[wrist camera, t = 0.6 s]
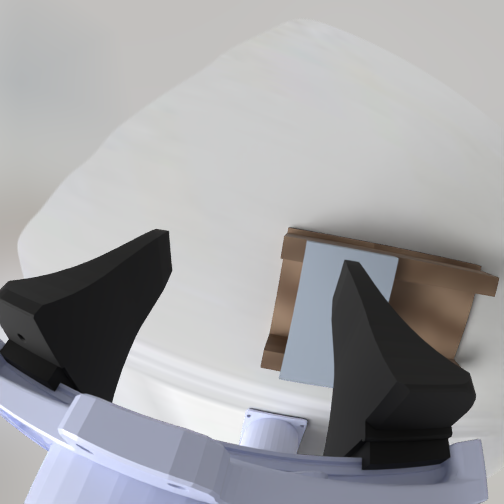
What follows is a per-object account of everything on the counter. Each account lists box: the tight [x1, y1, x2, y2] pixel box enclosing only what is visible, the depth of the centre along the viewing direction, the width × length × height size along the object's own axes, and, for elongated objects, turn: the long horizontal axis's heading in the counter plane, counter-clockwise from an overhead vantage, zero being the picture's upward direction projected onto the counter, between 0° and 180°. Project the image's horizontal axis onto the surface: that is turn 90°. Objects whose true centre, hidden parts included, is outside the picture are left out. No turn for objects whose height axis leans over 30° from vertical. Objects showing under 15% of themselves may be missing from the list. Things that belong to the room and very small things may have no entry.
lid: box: [279, 240, 399, 388], centre depth 25 cm, size 13×8×1 cm, turn 171°
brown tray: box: [261, 228, 499, 371], centre depth 28 cm, size 14×23×5 cm, turn 81°
